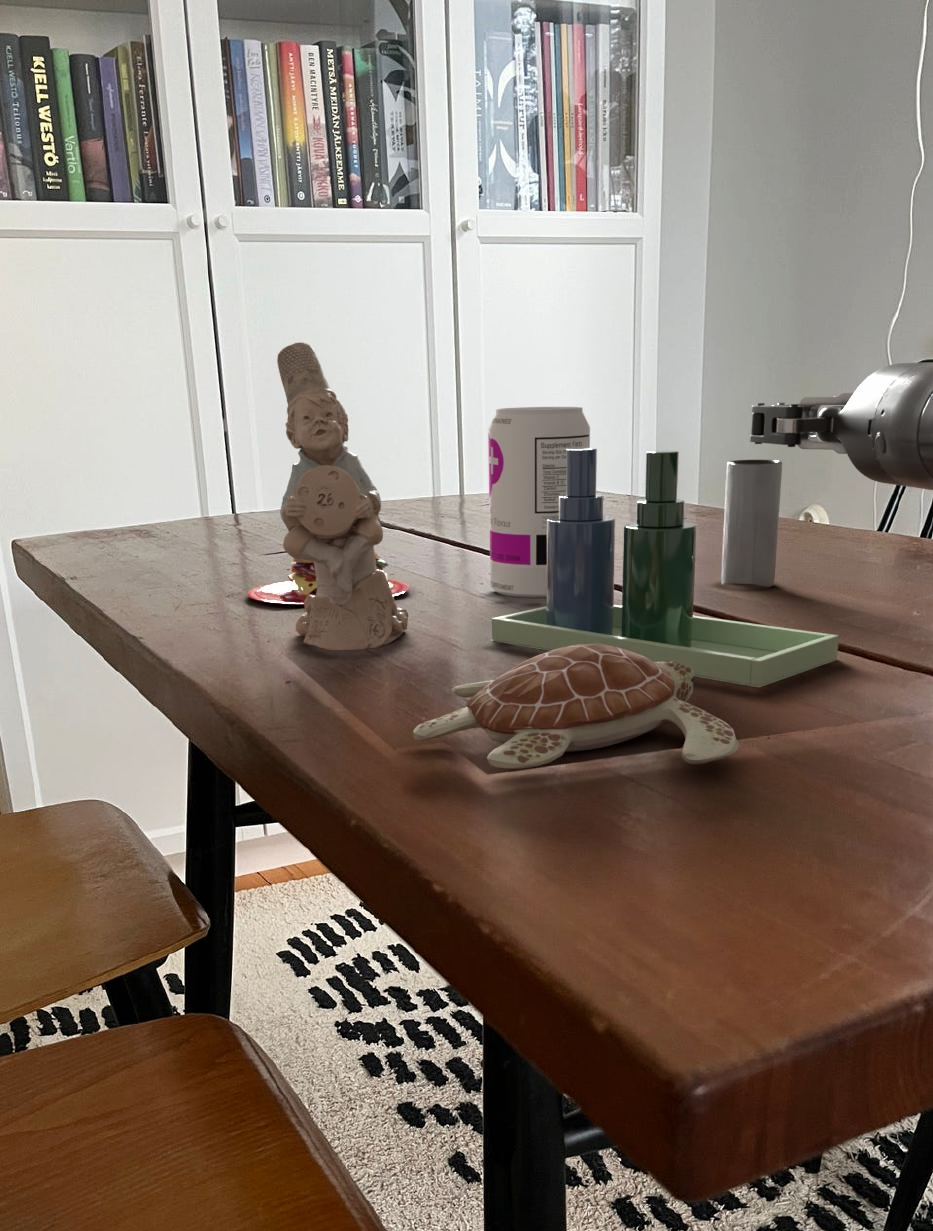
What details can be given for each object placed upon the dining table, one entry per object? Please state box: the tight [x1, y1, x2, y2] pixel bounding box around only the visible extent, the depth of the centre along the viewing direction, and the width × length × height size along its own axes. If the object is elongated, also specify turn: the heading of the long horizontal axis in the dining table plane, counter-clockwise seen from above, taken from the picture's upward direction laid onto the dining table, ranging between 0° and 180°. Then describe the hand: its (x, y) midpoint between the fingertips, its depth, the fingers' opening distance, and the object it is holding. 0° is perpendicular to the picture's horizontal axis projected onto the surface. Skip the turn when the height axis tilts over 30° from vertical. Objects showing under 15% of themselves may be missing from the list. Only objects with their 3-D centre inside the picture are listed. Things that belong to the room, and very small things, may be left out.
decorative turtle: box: [412, 644, 740, 770], centre depth 62 cm, size 18×17×5 cm
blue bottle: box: [546, 447, 616, 635], centre depth 83 cm, size 5×5×12 cm
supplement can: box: [487, 406, 591, 598], centre depth 101 cm, size 8×8×15 cm
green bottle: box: [621, 449, 698, 648], centre depth 79 cm, size 5×5×12 cm
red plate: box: [247, 549, 410, 605], centre depth 106 cm, size 14×14×6 cm
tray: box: [491, 604, 840, 688], centre depth 81 cm, size 21×9×2 cm, turn 46°
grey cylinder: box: [720, 459, 783, 588], centre depth 105 cm, size 4×4×10 cm
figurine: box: [276, 341, 409, 651], centre depth 83 cm, size 9×8×20 cm
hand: (814, 419), depth 92 cm, fingers open, 8 cm apart
